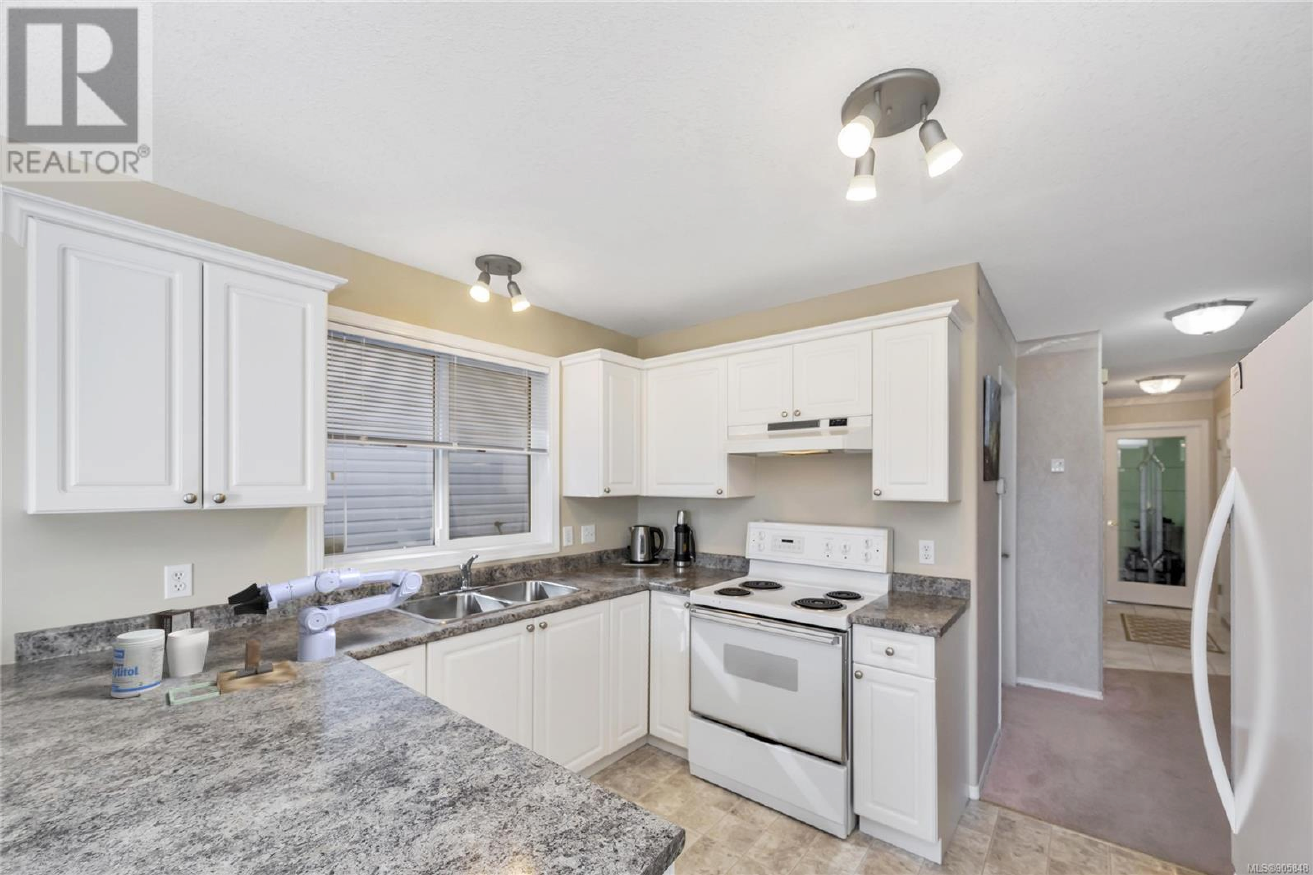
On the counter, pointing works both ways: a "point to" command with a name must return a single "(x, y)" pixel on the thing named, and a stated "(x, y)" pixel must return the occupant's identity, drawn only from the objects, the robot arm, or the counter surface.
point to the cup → (187, 651)
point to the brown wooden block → (252, 654)
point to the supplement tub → (137, 662)
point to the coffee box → (171, 626)
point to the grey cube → (263, 668)
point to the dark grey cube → (245, 672)
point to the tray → (191, 697)
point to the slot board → (255, 678)
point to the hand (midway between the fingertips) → (231, 606)
